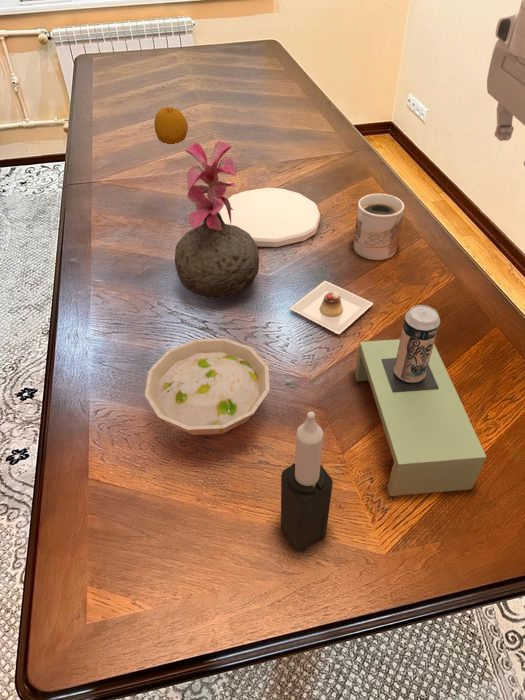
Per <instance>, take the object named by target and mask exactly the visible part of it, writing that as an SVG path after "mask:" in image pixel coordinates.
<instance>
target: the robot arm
mask: <svg viewBox="0 0 525 700" xmlns="http://www.w3.org/2000/svg"><path fill="white" fill-rule="evenodd" d="M495 37H496V38H497V40H496V42H495V44H494V47H493V50H492V54H491V59H490V62H489V66H488V67H489V68H488V74H487V77H486V90H487V94H488V95H489V96H490V97H492V99H494V100H495V101H496V102H497V106H496V127H495V131H494V137H495V138H496V139H497V140H498V141H500V142H503V141H505V142H506V141H507V142H508V141H509V140H511V138H512V134H513V133H514V129H515V128H514V126H513V117H514V118H515V119H517V121H519V122H520V123H521V124H522V125H523V126H525V0H521V3H520V6H519V10H518V13H515V14H512V15H508V16H502V17H501V18H499V19H498V21H497V24H496V29H495ZM523 166H524V167H525V160H524V161H523Z"/></svg>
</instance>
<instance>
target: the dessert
mask: <svg viewBox="0 0 525 700" xmlns="http://www.w3.org/2000/svg"><path fill="white" fill-rule="evenodd" d="M372 306H374V302H372V301H370V300H367V299H365V298H363V297H361V296H359V295H357V294H354V293H352V292H351V291H349V290H346V289H344V288H342V287H340V286H338V285H336V284H333V283H332V282H329V281H327V280H323V281H322V282H321V283H320V284H318V285H317V286H316V287H314V288H313V289H312V290H311V291H309V292H308V293H307V294H305V295H304V296H303V297H301V298H300V299H299V300H298V301H296V302H295V303H294V304H293V305H291V306H290V307H289V310H290V311H292V312H294V313H296V314H298V315H300V316H302V317H304V318H306V319H308V320H309V321H312V322H313V323H315V324H318V325H319V326H321V327H323V328H325V329H327V330H329V331H331V332H332V333H335V334H337V335H341V334H342V333H343V332H344V331H345V330H346V329H348V327H349V326H351V325H352V324H353V323H354V322H355V321H356V320H358V319H359V318H360V317H361V316H362V315H363V314H364V313H365V312H366V311H368V309H370V308H371V307H372Z"/></svg>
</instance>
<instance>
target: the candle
mask: <svg viewBox="0 0 525 700" xmlns="http://www.w3.org/2000/svg"><path fill="white" fill-rule="evenodd" d="M315 418H316V413H315V412H314V411H308V412H307V414H306V419H305V421H304V422H303V423H302V424H300V425H299V426H298V427H297V430H296V434H295V435H296V437H295V460H294V463H292V464H291V465H290V466H287V467H286V468H284V469H283V471H282V472H281V476H280V530H281V533H283V535H284V536H285V538H286V540H287V541H288V543H290V545H291V547H292V548H293V549H294V550H295V551H296V552H299V553H303V552H306V551H307V550H308V548H310V547H311V546H313V545H315V544H317V542H319V541H323V540H325V538H326V535H327V530H328V524H329V523H328V522H329V516H330V508H331V499H332V492H333V483H334V482H333V479H332V477H331V476H330V474H329V473H328V472H327V471H326V469H325V468H324V466H323V465H322V455H323V454H322V453H323V442H324V431H323V428H322V427H321V426H320V425H319V424H318V423H317V421H316V419H315Z"/></svg>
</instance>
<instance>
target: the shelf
mask: <svg viewBox="0 0 525 700" xmlns="http://www.w3.org/2000/svg"><path fill="white" fill-rule="evenodd" d="M399 343H400V338H397V339H396V338H395V339H382V340H367V341H359V345H358V350H357V351H358V352H357V359H356V365H355V373H354V376H355V381H356V382H365V381H368V382H369V385H370V388H371V392H372V395H373V398H374V401H375V405H376V408H377V410H378V414H379V418H380V421H381V424H382V427H383V430H384V434H385V437H386V440H387V443H388V447H389V449H390V453H391V456H392V460H393V465H392V468H391V472H390V476H389V479H388V484H387V487H386V488H387V491H388V495H389V497H397V496H410V495H419V494H420V495H421V494H432V493H441V492H442V493H443V492H456V491H467V490H468V491H469V490H472V489H473V487H474V485H475V483H476V481H477V479H478V476H479V474H480V472H481V470H482V468H483V466H484V464H485V462H486V460H487V455H486V453H485V450H484V448H483V447H482V444H481V442H480V439H479V437H478V435H477V433H476V431H475V429H474V427H473V425H472V424H473V423H471V420H470V417H469V416H468V413H467V411H466V409H465V407H464V404H463V403H462V401H461V398H460V396H459V394H458V392H457V389H456V388H455V385H454V384H453V381H452V379H451V376H450V374H449V372H448V370H447V368H446V366H445V364H444V361H443V360H442V357H441V355H440V353H439V351H438V349H437V346H436V345H435V343H434V346H433V349H432V353H431V356H430V360H429V364H428V367H427V371H426V375H425V377H424V379H422V380H421V381H419V382H406V381H403V380H402V379H400V378H399V377H397V375H396V374H395V372H394V366H395V362H396V357H397V352H398V348H399Z"/></svg>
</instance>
